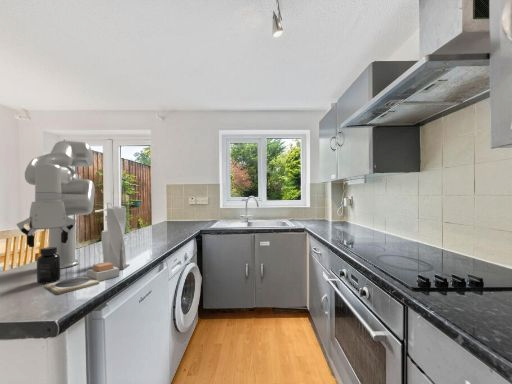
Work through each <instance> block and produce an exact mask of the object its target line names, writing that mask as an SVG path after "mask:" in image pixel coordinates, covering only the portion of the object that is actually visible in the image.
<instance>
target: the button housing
mask: <svg viewBox="0 0 512 384" xmlns="http://www.w3.org/2000/svg"><path fill="white" fill-rule="evenodd" d="M86 276H87V277H89V278H92V279H94V280H97V281H99V282H102V281H105V280H110V279H113V278H116V277H120V270H119V268H117V267H114V266H113V269H111V270H106V271H102V272H97V271H94V270H93V268H91V269H90V268H89V269H87V270H86Z"/></svg>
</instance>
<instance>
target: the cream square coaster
mask: <svg viewBox="0 0 512 384" xmlns="http://www.w3.org/2000/svg"><path fill="white" fill-rule="evenodd" d="M44 285H45V286H44V287H45V288H46V289H48V290H50V291H51V292H53V293H55V294H57V295H61V294H64V293H65V294H66V293H69V292H73V291H74V292H75V291H77V290H81V289H84V288H85V289H86V288H88V287H93V286H96V285H100V281H97V280H94V279H92V278H89V277H87V275H81V276H78V277H72V278H69V279H64V280H58V281H55V282H50V283H45V284H44Z"/></svg>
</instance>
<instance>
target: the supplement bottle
mask: <svg viewBox="0 0 512 384" xmlns="http://www.w3.org/2000/svg"><path fill="white" fill-rule="evenodd" d="M39 250H40V251H39V252H40V253H39V254H40V255H39V256H38V257H37V259H36V282H37V283H38V284H41V285H42V284H50V283H55V282H58V281H60V279H61V268H60V255H58V254H56V252H57V247H49V246H48V247H43V248H40V249H39Z"/></svg>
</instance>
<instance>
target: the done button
mask: <svg viewBox="0 0 512 384" xmlns="http://www.w3.org/2000/svg"><path fill="white" fill-rule="evenodd" d="M92 269H93V270H94V271H97V272H102V271H106V270H111V269H113V264H112V263H109V262H100V263H97V264H96V263H95V264H92Z"/></svg>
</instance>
